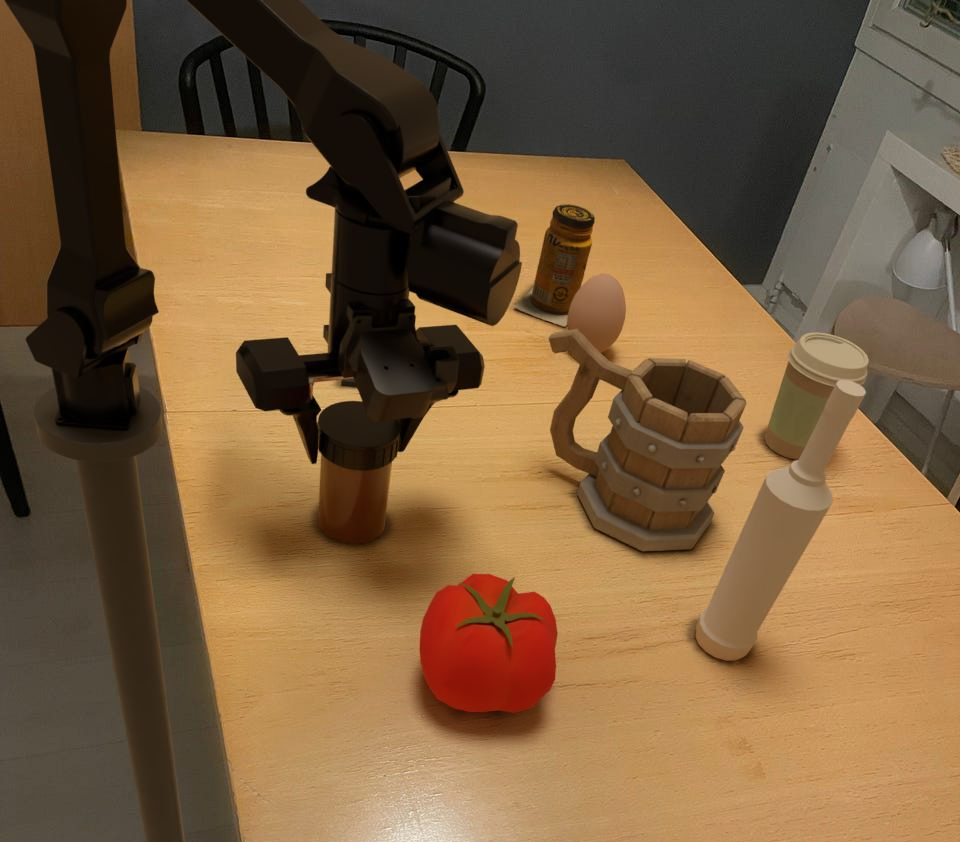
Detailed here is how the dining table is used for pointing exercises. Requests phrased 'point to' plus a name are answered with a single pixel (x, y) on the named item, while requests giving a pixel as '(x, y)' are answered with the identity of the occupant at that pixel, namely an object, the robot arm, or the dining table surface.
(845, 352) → the coffee cup
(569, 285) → the condiment
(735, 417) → the tankard
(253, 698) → the dining table surface
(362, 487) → the jam jar
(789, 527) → the bottle
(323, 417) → the jar lid
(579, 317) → the egg
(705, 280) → the dining table surface
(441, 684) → the tomato
